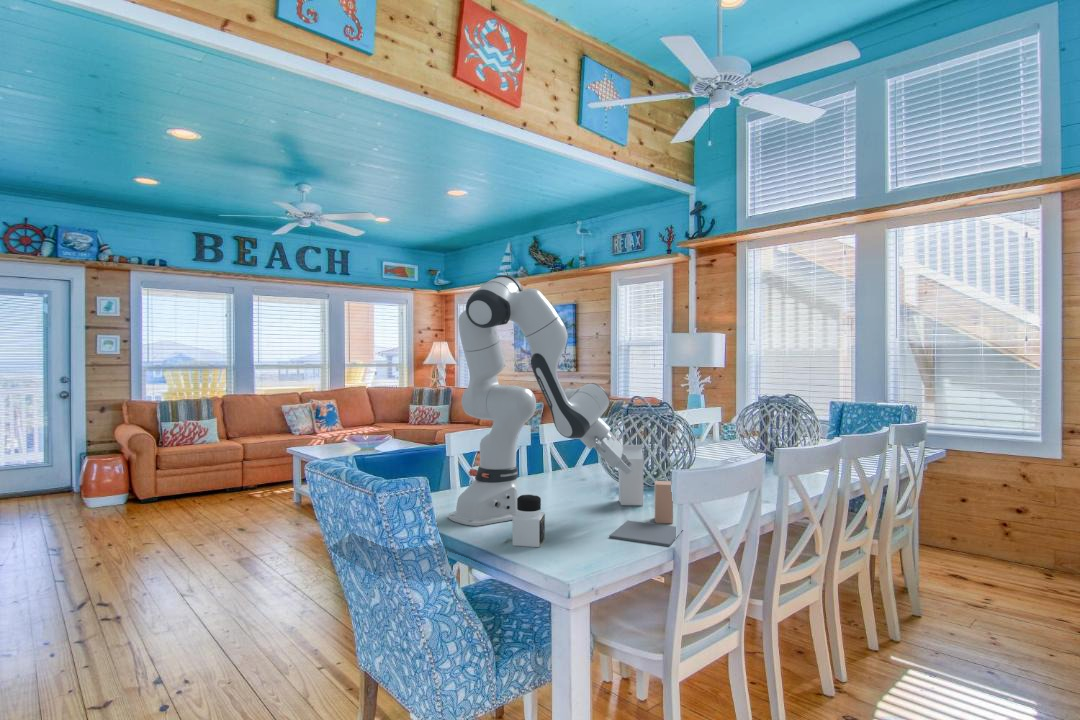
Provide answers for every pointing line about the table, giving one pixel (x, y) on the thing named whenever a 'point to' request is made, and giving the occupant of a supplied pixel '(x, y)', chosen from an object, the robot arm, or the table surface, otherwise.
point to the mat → (646, 533)
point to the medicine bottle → (528, 522)
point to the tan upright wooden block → (663, 502)
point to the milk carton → (632, 477)
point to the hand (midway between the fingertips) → (629, 469)
